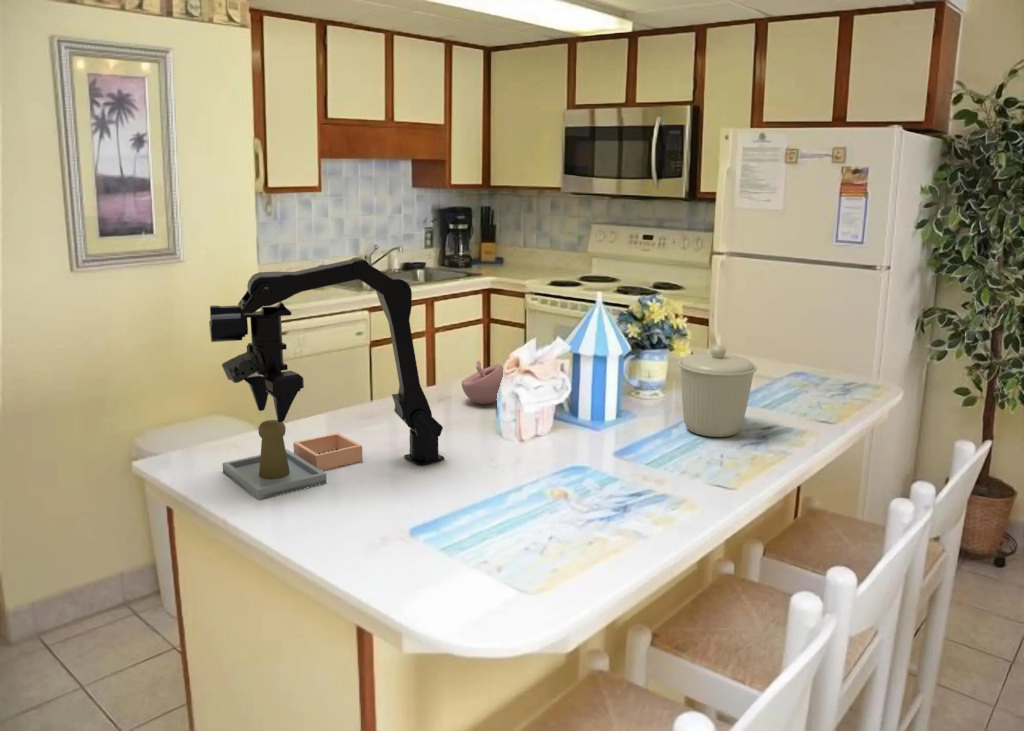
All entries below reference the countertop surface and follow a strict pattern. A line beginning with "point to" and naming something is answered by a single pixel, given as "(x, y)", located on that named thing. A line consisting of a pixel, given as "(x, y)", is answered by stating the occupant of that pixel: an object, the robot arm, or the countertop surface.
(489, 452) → the countertop surface
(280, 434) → the olive tapered piece
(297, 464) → the tray
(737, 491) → the countertop surface
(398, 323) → the robot arm
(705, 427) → the canister
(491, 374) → the mortar and pestle
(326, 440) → the holder
